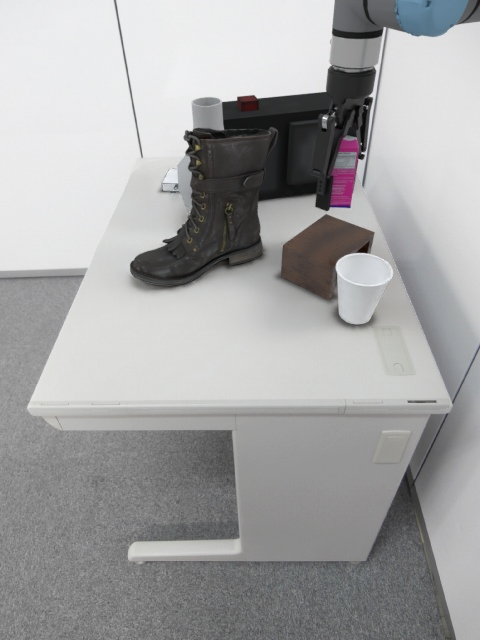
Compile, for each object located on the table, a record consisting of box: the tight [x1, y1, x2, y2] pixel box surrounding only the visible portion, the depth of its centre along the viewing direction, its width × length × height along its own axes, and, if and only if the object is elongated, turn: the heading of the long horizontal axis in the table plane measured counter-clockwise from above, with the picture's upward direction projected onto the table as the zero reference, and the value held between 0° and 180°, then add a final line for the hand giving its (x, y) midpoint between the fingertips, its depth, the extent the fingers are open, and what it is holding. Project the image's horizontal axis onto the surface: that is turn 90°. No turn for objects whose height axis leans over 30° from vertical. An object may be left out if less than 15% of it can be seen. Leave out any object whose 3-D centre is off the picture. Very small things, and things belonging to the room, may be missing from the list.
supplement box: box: [330, 135, 359, 209], centre depth 80 cm, size 6×6×12 cm
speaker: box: [222, 91, 342, 202], centre depth 116 cm, size 15×35×24 cm, turn 104°
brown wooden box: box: [280, 213, 376, 300], centre depth 93 cm, size 12×16×8 cm
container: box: [161, 168, 180, 194], centre depth 127 cm, size 20×11×3 cm, turn 173°
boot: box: [129, 127, 278, 287], centre depth 89 cm, size 12×33×29 cm, turn 117°
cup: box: [336, 253, 394, 325], centre depth 81 cm, size 10×10×11 cm
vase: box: [176, 96, 224, 212], centre depth 103 cm, size 17×16×28 cm
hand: (334, 199), depth 84 cm, fingers closed on supplement box, 8 cm apart
